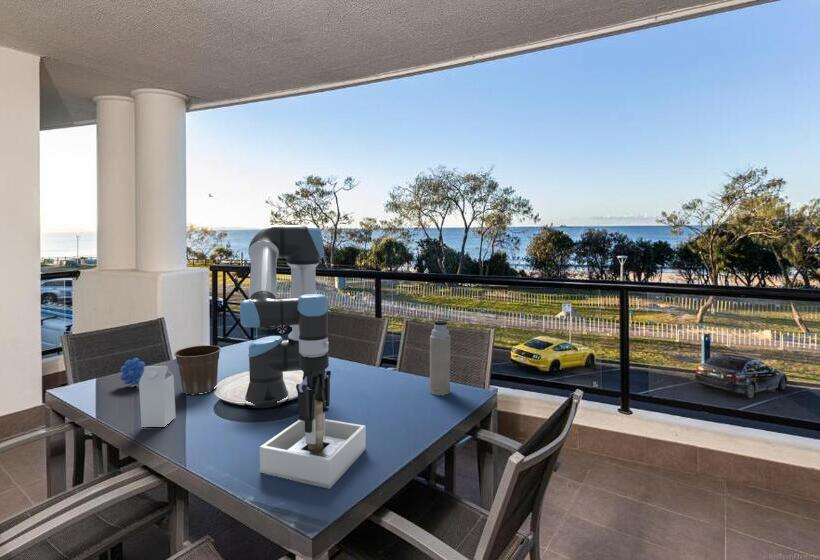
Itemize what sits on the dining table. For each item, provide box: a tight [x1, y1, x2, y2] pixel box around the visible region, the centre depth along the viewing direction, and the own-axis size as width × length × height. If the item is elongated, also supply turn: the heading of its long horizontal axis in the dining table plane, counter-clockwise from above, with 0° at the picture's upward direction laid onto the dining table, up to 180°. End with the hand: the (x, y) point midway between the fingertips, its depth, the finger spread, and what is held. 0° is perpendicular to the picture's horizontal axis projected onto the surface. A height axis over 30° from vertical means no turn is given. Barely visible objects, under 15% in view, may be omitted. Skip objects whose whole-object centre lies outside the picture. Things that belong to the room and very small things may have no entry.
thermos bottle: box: [429, 320, 452, 396], centre depth 162 cm, size 8×8×28 cm
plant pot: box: [174, 344, 222, 395], centre depth 164 cm, size 16×16×16 cm
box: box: [259, 418, 367, 490], centre depth 111 cm, size 20×20×7 cm
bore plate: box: [288, 436, 346, 458], centre depth 112 cm, size 12×12×3 cm
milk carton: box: [138, 365, 176, 428], centre depth 133 cm, size 7×7×19 cm
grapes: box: [119, 357, 146, 386], centre depth 168 cm, size 12×7×12 cm, turn 82°
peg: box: [308, 400, 323, 453], centre depth 111 cm, size 4×4×14 cm
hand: (315, 438), depth 111 cm, fingers closed on peg, 4 cm apart
